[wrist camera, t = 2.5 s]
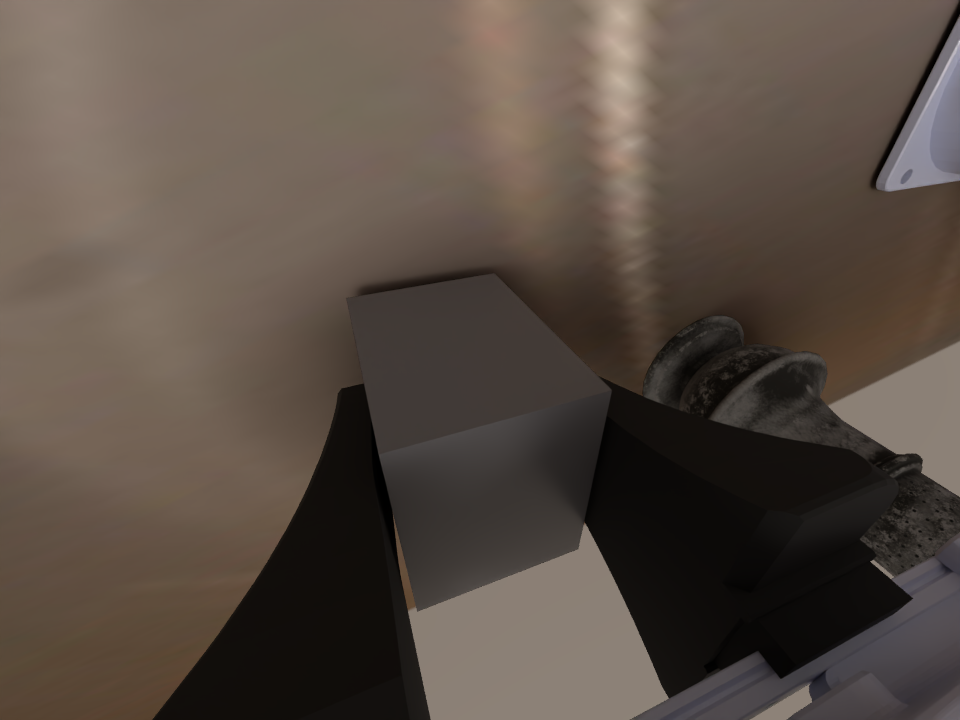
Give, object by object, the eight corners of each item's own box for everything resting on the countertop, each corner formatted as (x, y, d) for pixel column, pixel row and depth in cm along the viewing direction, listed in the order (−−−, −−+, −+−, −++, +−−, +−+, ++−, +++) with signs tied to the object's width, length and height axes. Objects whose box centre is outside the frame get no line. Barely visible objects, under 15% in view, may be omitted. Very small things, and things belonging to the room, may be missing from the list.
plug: (494, 273, 11) (612, 390, 7) (494, 407, 14) (578, 549, 10) (346, 297, 10) (378, 454, 6) (379, 438, 13) (417, 611, 9)
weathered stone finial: (670, 433, 21) (972, 719, 11) (614, 390, 17) (984, 752, 8) (762, 347, 19) (1187, 592, 10) (721, 282, 16) (1315, 565, 7)
